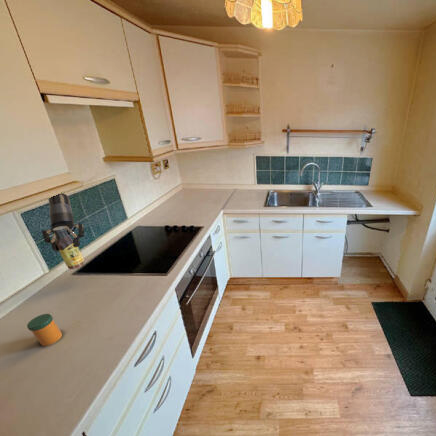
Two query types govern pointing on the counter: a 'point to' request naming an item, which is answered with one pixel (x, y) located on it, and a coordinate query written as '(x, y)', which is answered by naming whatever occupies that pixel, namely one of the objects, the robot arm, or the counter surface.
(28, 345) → the counter surface
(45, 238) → the robot arm
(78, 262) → the sauce bottle
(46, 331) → the honey jar
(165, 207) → the counter surface
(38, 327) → the lid
